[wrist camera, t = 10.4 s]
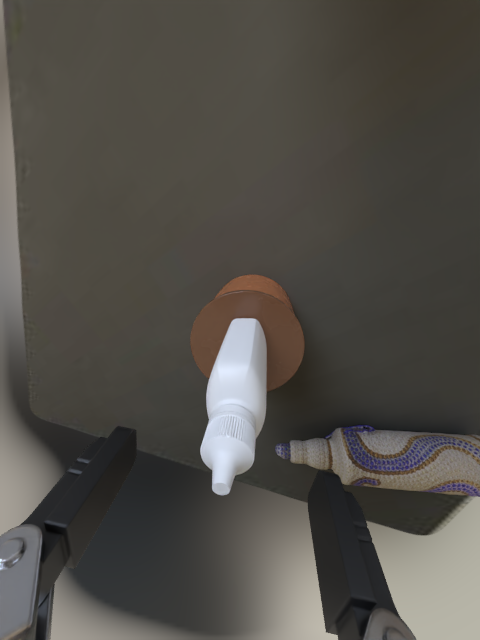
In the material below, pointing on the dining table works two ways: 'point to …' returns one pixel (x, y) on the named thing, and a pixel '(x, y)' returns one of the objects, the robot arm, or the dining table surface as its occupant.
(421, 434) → the decorative bottle
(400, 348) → the dining table surface
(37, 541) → the robot arm
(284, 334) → the copper canister
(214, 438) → the eye dropper bottle
